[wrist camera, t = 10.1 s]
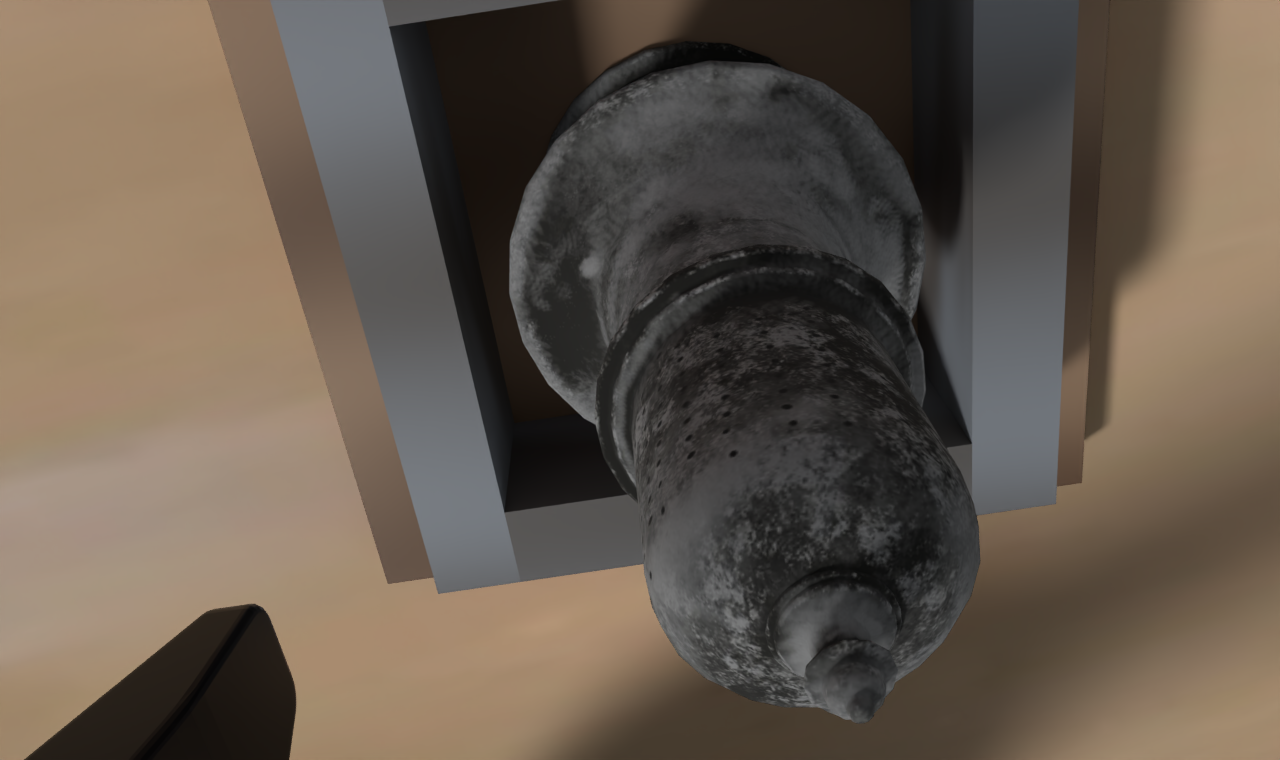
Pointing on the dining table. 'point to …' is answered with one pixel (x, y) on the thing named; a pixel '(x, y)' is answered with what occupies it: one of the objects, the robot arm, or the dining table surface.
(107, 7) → the dining table surface
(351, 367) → the socket board
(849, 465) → the salt shaker
